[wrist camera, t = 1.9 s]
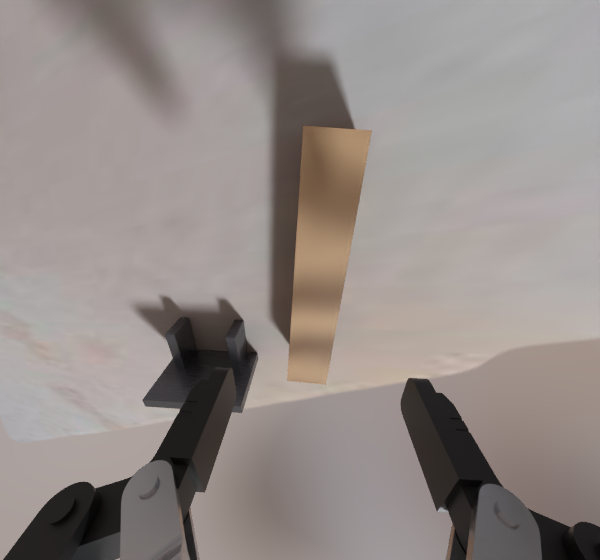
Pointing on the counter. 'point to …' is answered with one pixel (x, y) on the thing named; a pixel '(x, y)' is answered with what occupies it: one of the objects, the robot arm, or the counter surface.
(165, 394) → the cup bracket
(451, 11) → the counter surface
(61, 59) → the counter surface
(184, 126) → the counter surface
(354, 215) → the rail
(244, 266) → the counter surface
